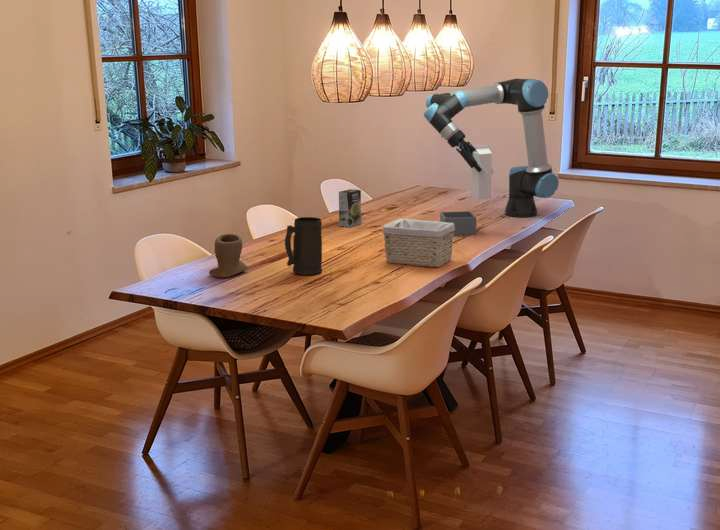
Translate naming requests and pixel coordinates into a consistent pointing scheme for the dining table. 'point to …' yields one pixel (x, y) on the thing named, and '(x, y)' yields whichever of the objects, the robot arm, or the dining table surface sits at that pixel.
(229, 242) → the stone cup
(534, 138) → the robot arm
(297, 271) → the beer stein
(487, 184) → the milk
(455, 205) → the dining table surface
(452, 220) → the tray
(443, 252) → the storage basket
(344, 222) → the coffee box
